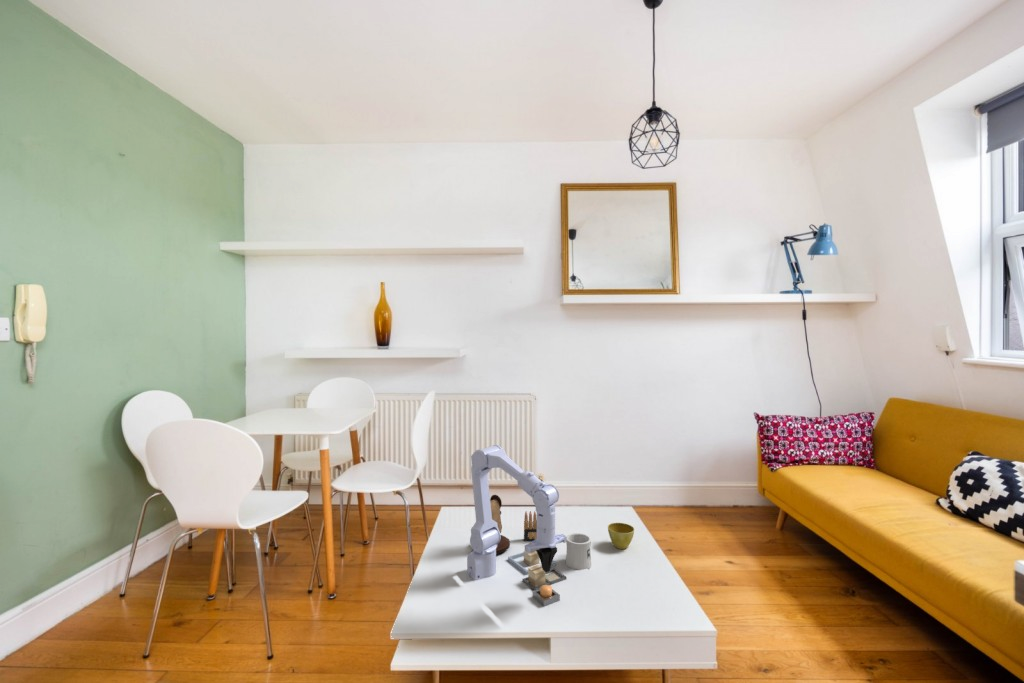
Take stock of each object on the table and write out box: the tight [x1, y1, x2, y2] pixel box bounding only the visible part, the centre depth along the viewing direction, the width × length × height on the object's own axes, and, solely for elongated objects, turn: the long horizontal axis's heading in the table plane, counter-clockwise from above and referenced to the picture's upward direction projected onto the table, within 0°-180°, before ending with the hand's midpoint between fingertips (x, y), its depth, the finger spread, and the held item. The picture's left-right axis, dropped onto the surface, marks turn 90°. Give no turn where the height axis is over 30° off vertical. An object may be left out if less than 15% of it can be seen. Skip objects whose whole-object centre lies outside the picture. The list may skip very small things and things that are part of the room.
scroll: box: [471, 494, 511, 555], centre depth 177 cm, size 15×15×20 cm
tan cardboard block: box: [523, 550, 540, 567], centre depth 164 cm, size 4×4×5 cm
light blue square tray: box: [507, 551, 557, 576], centre depth 165 cm, size 12×12×2 cm
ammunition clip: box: [523, 510, 537, 542], centre depth 184 cm, size 11×2×12 cm, turn 90°
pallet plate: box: [522, 568, 567, 591], centre depth 153 cm, size 14×9×2 cm, turn 122°
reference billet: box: [527, 564, 546, 587], centre depth 151 cm, size 4×4×5 cm
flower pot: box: [607, 522, 635, 550], centre depth 180 cm, size 10×10×7 cm
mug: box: [565, 532, 592, 571], centre depth 166 cm, size 12×9×10 cm
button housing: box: [531, 588, 561, 608], centre depth 142 cm, size 6×6×3 cm
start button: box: [540, 585, 553, 599], centre depth 142 cm, size 4×4×3 cm
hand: (546, 570), depth 142 cm, fingers closed
